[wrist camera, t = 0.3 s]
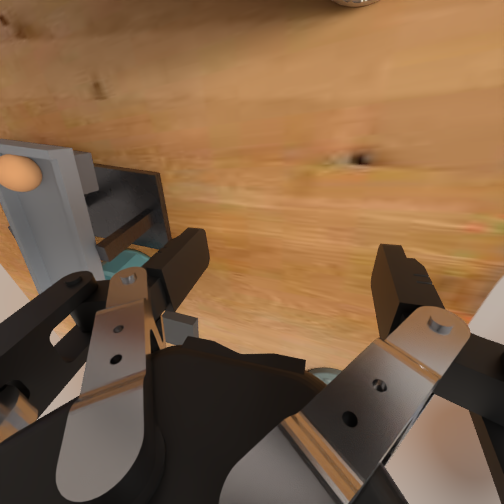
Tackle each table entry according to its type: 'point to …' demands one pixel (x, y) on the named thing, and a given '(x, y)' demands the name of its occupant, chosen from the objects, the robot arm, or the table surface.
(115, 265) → the cup
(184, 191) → the table surface
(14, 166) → the ball
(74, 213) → the chute
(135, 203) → the stand
